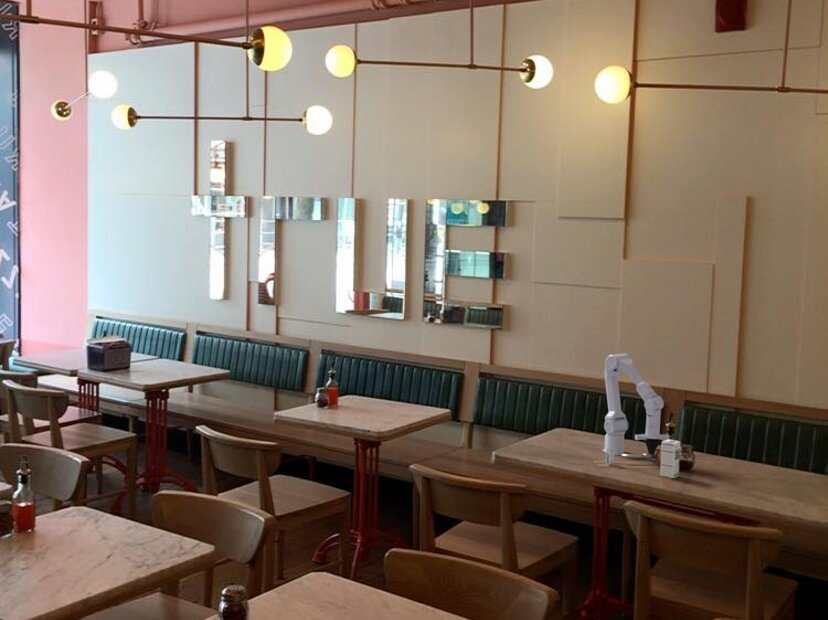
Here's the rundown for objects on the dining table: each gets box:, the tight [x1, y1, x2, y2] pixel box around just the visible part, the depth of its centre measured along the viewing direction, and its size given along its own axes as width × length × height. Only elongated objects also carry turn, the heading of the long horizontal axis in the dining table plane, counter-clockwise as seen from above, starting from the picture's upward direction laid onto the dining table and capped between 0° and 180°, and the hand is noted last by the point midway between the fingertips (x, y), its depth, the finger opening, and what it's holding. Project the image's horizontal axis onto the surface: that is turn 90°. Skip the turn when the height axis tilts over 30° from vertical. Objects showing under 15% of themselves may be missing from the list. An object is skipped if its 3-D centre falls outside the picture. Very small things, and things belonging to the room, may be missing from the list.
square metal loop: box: [604, 449, 616, 466], centre depth 395 cm, size 6×3×6 cm, turn 8°
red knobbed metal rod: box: [620, 448, 661, 464], centre depth 397 cm, size 18×6×6 cm, turn 98°
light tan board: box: [591, 459, 660, 469], centre depth 396 cm, size 12×25×1 cm, turn 98°
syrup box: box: [659, 438, 681, 479], centre depth 381 cm, size 6×6×14 cm
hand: (651, 456), depth 400 cm, fingers closed
